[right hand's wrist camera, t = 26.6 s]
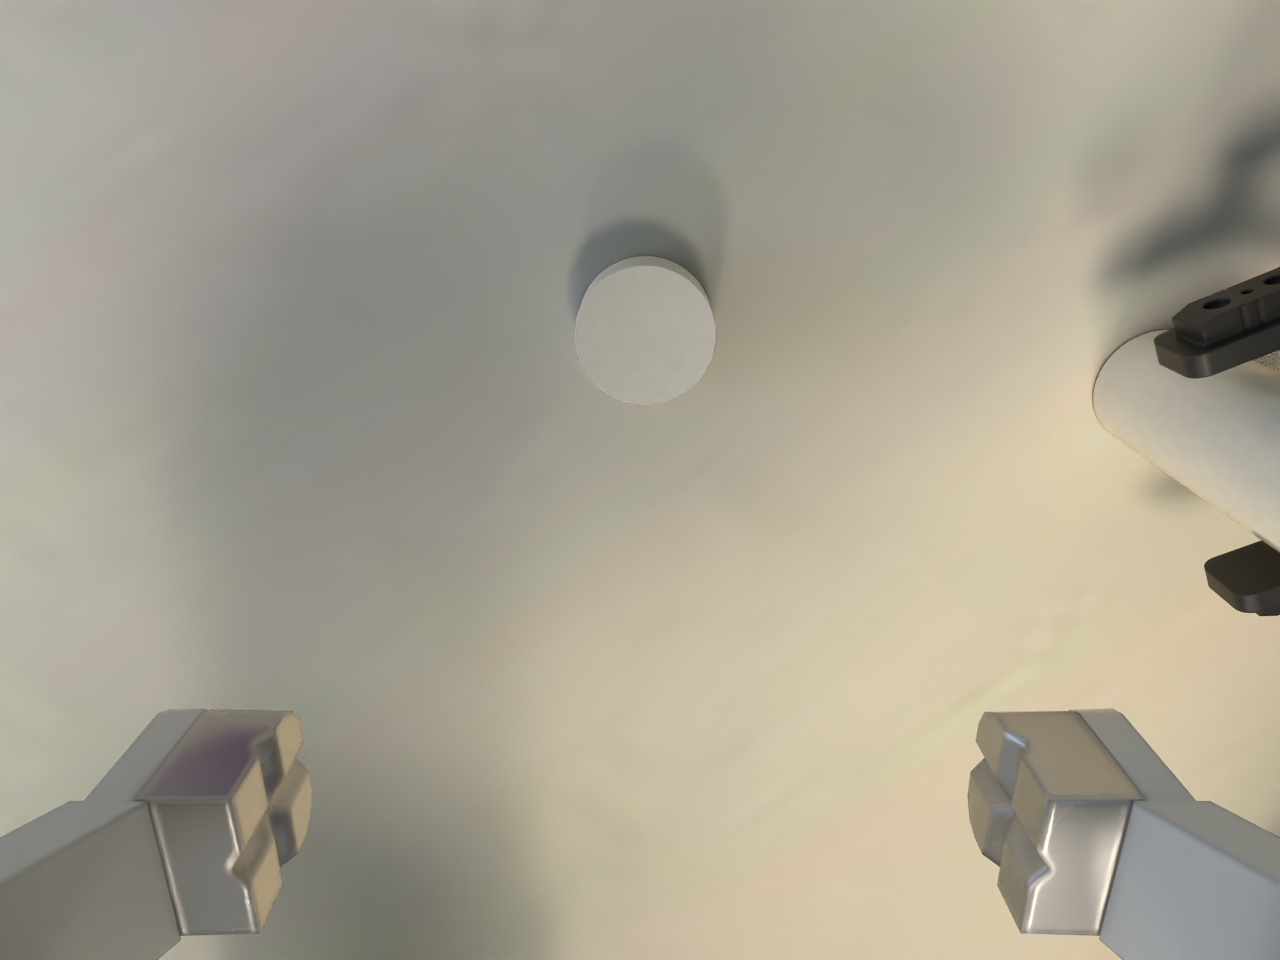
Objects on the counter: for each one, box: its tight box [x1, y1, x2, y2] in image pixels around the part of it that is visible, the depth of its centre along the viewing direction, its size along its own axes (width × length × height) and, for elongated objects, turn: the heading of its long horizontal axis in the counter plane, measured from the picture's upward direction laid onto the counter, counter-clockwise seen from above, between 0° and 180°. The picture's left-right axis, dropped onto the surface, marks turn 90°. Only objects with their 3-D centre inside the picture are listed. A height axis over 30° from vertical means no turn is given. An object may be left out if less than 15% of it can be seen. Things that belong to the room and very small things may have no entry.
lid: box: [574, 256, 716, 405], centre depth 30 cm, size 5×5×2 cm
